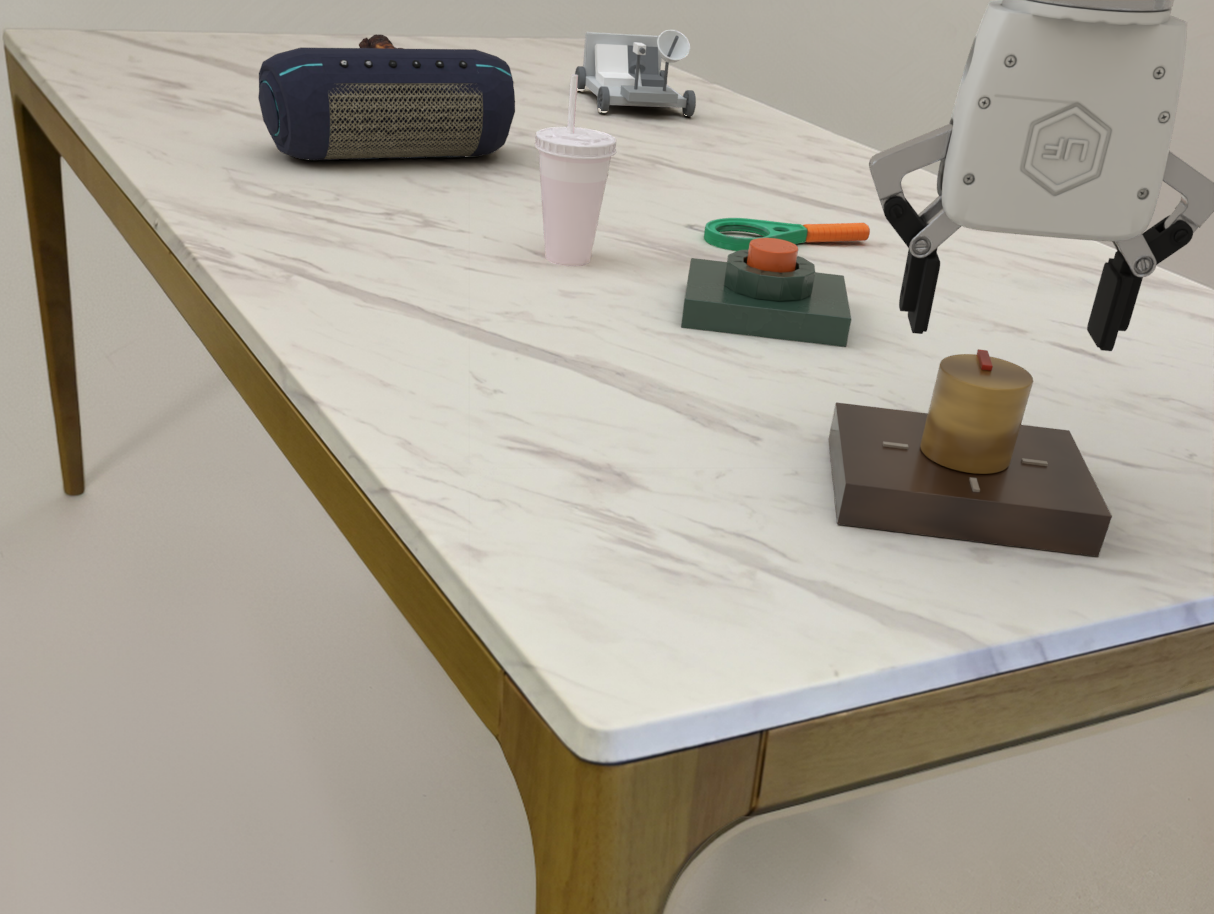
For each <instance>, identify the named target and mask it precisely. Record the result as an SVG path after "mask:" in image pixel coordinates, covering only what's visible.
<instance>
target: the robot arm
mask: <svg viewBox="0 0 1214 914" xmlns="http://www.w3.org/2000/svg"><path fill="white" fill-rule="evenodd" d="M1174 3H1175V0H989V1H988V2H987V6H986V7H985V10H984V12H983V15H982V17H981V20H980V22H979V25H978V28H977V31H976V32H975V35H974V38H973V41H972V44H971V47H970V50H969V52H968V56H967V58H966V62H965V65H964V68H963V72H962V76H961V79H960V83H959V86H958V89H957V93H956V96H955V99H954V103H953V108H952V110H951V115H950V119H949V122H948V124H946V125H944V126H941V127H938V128H936V129H933V130H931V131H928V132H926V133H923V134H921V135H919V136H917V137H914V138H912V139H908V140H906V141H905V142H902V143H899V144H897V145H894V146H892V147H890V148H887V149H885V150H883V151H880V152H878V153H875V154H874V155H872V156H871V158H870V159H869V161H868V168H869V172H870V175H871V178H872V181H873V184H874V187H875V190H876V193H877V196H878V199H879V203H880V205H881V208H882V211H883V215H884V217H885V219H886V220H887V222H888V224H890V226H891V227H892V229H893V230H894V231H895V233H896V234H897V235H898V236H899V238H900V239H901V240H902V241H903V243H904V244H905V245H906V247H907V249H908V251H907V255H906V260H905V265H904V272H903V277H902V283H901V288H900V291H899V292H900V293H899V301H898V308H899V312H905V313H907V319H908V322H909V326H910V330H911V333H912V334H917V335H923V334H924V333H925V332H928V328H929V325H930V319H931V315H932V309H933V305H934V299H935V295H936V289H937V284H938V279H939V276H940V275H939V274H940V269H941V260H940V257H939V255H938V248H939V247H940V246H941V245H942V244H943V243H944V242H946V241H947V240H948V239H949V238H950V237H951V236H952V235H953V234H955V233H956V232H957V231H958V230H960V229H961V227H963V228H966V229H970V230H975V231H981V232H989V233H998V234H1010V235H1020V236H1033V237H1043V238H1054V239H1055V238H1056V239H1067V240H1078V241H1079V240H1080V241H1081V240H1082V241H1093V242H1094V241H1095V242H1111V243H1112V245H1113V246H1114V248H1115V250H1116V251H1115V253H1114V256H1113V258H1112V257H1108V261H1107V262H1106V261H1105V263H1104V264H1103V266H1102V270H1101V274H1100V278H1099V282H1098V286H1097V289H1096V292H1095V297H1094V300H1093V304H1092V307H1091V311H1090V315H1089V319H1088V322H1087V325H1086V330H1087V333H1088V335H1089V336H1090V338H1091V340H1092V341H1093V343H1094V344H1095V346H1096V347H1097V348H1098V349H1099V350H1100V351H1103V352H1104V351H1105V352H1112V351H1113V350H1114V347H1115V345H1116V342H1117V337H1118V334H1119V332H1127V330H1128V328H1129V326H1130V323H1131V320H1132V316H1133V313H1134V310H1135V306H1136V304H1137V303H1136V302H1137V299H1138V296H1139V293H1140V289H1141V286H1142V282H1143V279H1144V278H1147V277H1149V276H1150V275H1152V274H1153V273H1154V271H1155V270H1156V268H1157V265H1159V264H1161V263H1162V262H1163V261H1165V260H1166V259H1167V258H1169V257H1171V256H1172V255H1173V254H1175V253H1176V252H1178V251H1180V250H1181V249H1182V248H1184V247H1185V246H1187V245H1188V244H1189V243H1191V241H1192V239H1193V236H1194V233H1195V232H1197V230H1198V229H1199V228H1201V227H1202V226H1203V225H1204V224H1205V222H1206V221H1207V220H1208V219H1209V218H1210V217H1211V216H1212V214H1213V213H1214V181H1213V180H1211V179H1210V178H1209V177H1208V176H1206V175H1205V174H1204V173H1202V172H1201V171H1199V170H1197V169H1196V167H1195V168H1194V166H1192V165H1191V164H1189V162H1187V161H1185V160H1184V159H1182V158H1181V157H1180V156H1178V155H1176V154H1175V153H1174V152H1172V151H1171V150H1170V147H1171V143H1172V137H1173V134H1174V127H1175V122H1176V116H1177V112H1178V106H1179V99H1180V94H1181V93H1180V92H1181V87H1182V81H1183V76H1184V75H1183V74H1184V67H1185V60H1186V50H1187V39H1188V22H1187V21H1186V20H1184V19H1181V18H1179V17H1176V16H1174V15H1171V13H1172V10H1173V6H1174ZM937 162H939V164H938V170H937V177H936V192H937V195H938V196H937V197H936V198H935V199H934V200H933V201H931V202H930V203H929V204H928V205H927V206H926V207H924V208H923V210H921V211H920V212H919V213H918V212H917V211H916V210H915V209H914V207H913V206H912V205H911V203H910V202H909V200H908V199H907V198H906V197H905V193H904V191H903V187H902V182H903V181H902V180H903V178H904V177H905V176H906V175H908V174H910V173H912V172H914V171H917V170H919V169H922V168H925V167H927V166H930V165H932V164H934V163H937ZM1163 183H1165V184H1166V185H1168V186H1169V187H1171V188H1172V189H1173V190H1175V191H1176V192H1178V193H1179V194H1180V201H1179V202H1178V204H1177V205H1176V206H1175V207H1174V210H1173V211H1172V212H1171V214H1169V215H1167V216H1165V217H1164V218H1162V219H1160V221H1158V222H1157V223H1155V224H1154V225H1153V226H1151V227H1150V228H1148V227H1149V226H1150V224H1151V221H1152V219H1153V216H1154V214H1155V211H1156V207H1157V204H1158V200H1159V197H1160V192H1161V189H1162V184H1163Z"/></svg>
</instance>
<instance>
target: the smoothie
mask: <svg viewBox="0 0 1214 914" xmlns="http://www.w3.org/2000/svg"><path fill="white" fill-rule="evenodd" d="M569 80H570V82H569V94H568V95H569V97H568V112H567V113H568V114H567V126H549V127H544V128H541V129H539V130H537V131H536V132H535V140H534V141H535V142H534V148H536V150H538V165H539V166H538V167H539V179H540V182H539V183H540V194H541V195H540V196H541V197H540V198H541V213H542V214H541V215H542V228H543V246H544V258H545V260H546V261H548V262H550V263H552V264H555V265H559V266H566V267H580V266H581V267H582V266H585V265H588V264H589V263H591V260H592V254H593V249H594V244H595V239H596V234H597V229H598V226H599V220H600V215H601V209H602V205H603V201H604V194H605V190H606V185H607V181H608V177H609V170H610V166H611V160H612V157H614V156H615V155H616V154H617V139H616V137H615V136H613V135H612V134H609V133H607V132H604V131H602V130H598V129H597V130H596V129H592V128H587V127H580V126H579V127H578V126H576V113H577V99H578V98H577V96H578V92H577V84H578V75H576V74H575V73H571V74H570V79H569Z"/></svg>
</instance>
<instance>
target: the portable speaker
mask: <svg viewBox="0 0 1214 914" xmlns="http://www.w3.org/2000/svg"><path fill="white" fill-rule="evenodd" d="M515 94H516V93H515V87H514V78H513V75H512V70H511V68H510V65H509V63H507V62H506V61H505V60H504V59H502V58H500V57H499V56H497V55H494V54H491V53H488V52H484V51H482V50H478V49H474V48H472V49H471V48H469V49H468V48H467V49H466V48H464V49H463V48H404V49H391V48H360V47H298V48H294V49H290V50H286V51H282V52H278V53H276V54H274V55H272V56H270V57H269V58H267V59H265V60H263V61H262V62H261V66H260V68H259V71H258V97H257V99H258V103H259V107H260V112H261V115H262V120H263V123H264V124H265V127H266V129H267V131H268V134H269V136H270V137H271V139H272V141H273V143H274V144H275V147H276V149H277V150H278V151H279V152H280V153H282V154H285V155H286V156H289V157H292V158H294V157H295V158H294V159H297V158H300V159H299V160H303V159H309V160H308V161H310V160H313V161H340V160H339V159H358V160H380V159H379V158H402V159H428V158H427V157H447V158H466V157H465V156H478V157H482V156H486V155H492V154H494V153H495V152H496V151H498V150H500V149H501V148H502V147H504V146H505V144H506V141H507V139H508V137H509V135H510V130H511V128H512V127H511V126H512V124H513V120H514V118H515V117H514V116H515V113H516V95H515ZM425 157H426V158H425Z"/></svg>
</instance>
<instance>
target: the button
mask: <svg viewBox="0 0 1214 914" xmlns="http://www.w3.org/2000/svg"><path fill="white" fill-rule="evenodd" d="M756 238H757V239H753V240H751V241H750V244H749V251H748V258H747V265H749V266H750V267H753V268H756V269H760V270H763V271H771V272H779V273H781V272H793V271H795V266H796V260H797V256H798V254H799V246H798V245H797V244H793V243H791V242H788V241H785V240H781V239H775V238H758V237H756Z"/></svg>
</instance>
